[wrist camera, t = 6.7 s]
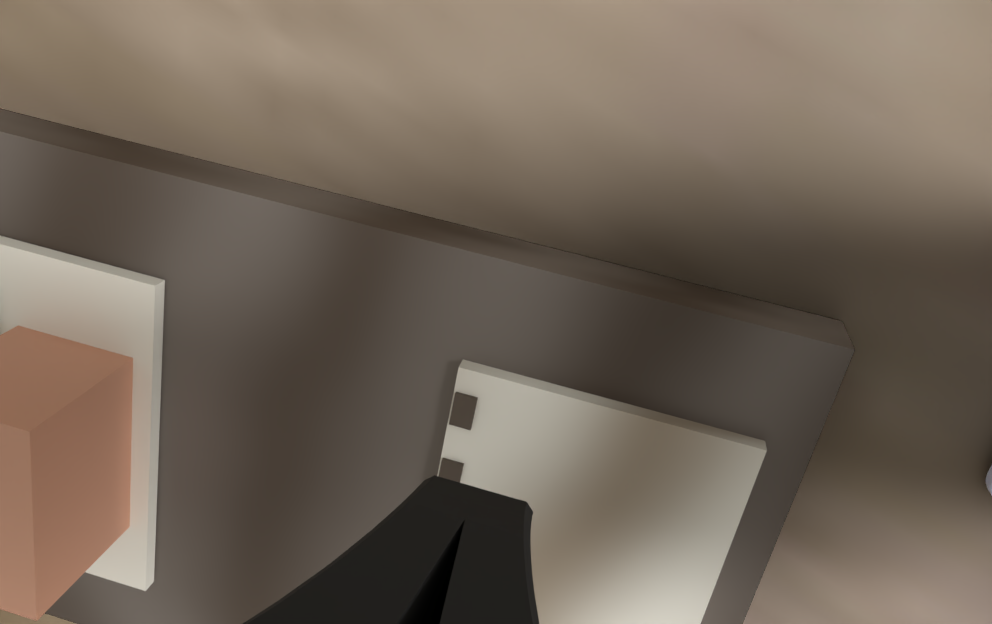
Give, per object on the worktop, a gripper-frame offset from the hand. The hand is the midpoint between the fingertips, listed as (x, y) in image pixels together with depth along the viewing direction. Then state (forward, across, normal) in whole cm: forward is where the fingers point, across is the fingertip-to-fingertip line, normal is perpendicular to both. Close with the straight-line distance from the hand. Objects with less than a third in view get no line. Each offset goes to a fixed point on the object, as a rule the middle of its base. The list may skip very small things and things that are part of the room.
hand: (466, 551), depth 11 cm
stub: (+8, +12, +6) cm, 15 cm away
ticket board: (+9, +5, +6) cm, 12 cm away
